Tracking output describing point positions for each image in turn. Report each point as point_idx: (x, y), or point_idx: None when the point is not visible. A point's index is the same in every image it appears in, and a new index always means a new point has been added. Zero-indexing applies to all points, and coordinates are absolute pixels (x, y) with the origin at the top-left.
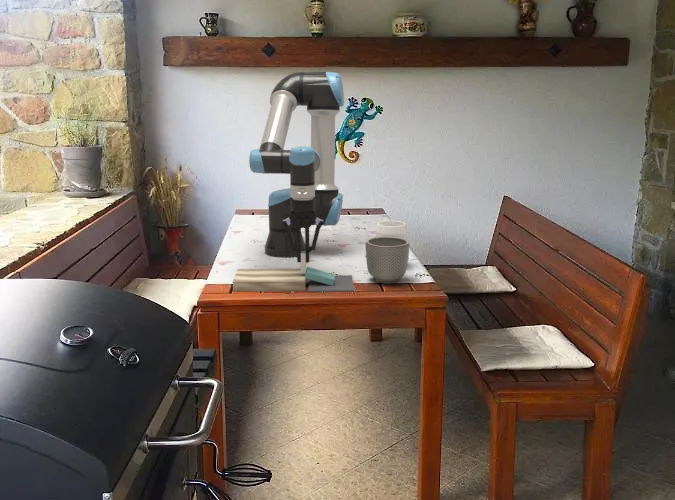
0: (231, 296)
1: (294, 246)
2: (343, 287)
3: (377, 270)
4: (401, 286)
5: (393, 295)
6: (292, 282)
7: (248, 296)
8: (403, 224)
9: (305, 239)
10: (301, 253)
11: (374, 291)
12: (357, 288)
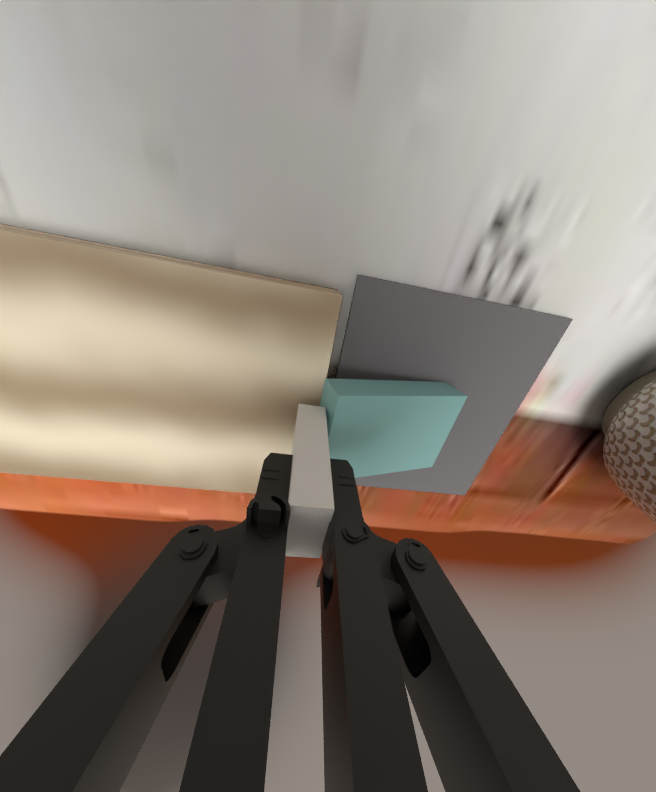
0: (26, 485)
1: (201, 627)
2: (444, 469)
3: (632, 501)
4: None
5: (544, 527)
6: (249, 489)
7: (95, 491)
8: None
9: (327, 762)
10: (286, 554)
11: (520, 496)
12: (488, 467)
